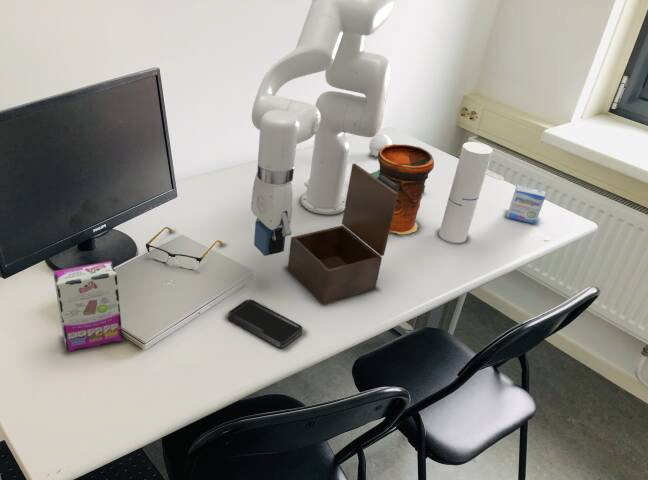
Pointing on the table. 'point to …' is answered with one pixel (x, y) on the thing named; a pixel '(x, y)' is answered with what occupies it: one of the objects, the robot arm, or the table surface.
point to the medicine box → (526, 204)
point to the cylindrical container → (465, 191)
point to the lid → (370, 207)
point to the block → (264, 238)
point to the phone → (265, 323)
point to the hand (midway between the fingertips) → (269, 245)
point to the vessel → (405, 181)
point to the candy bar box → (88, 305)
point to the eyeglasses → (177, 254)
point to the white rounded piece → (379, 143)
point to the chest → (333, 264)
